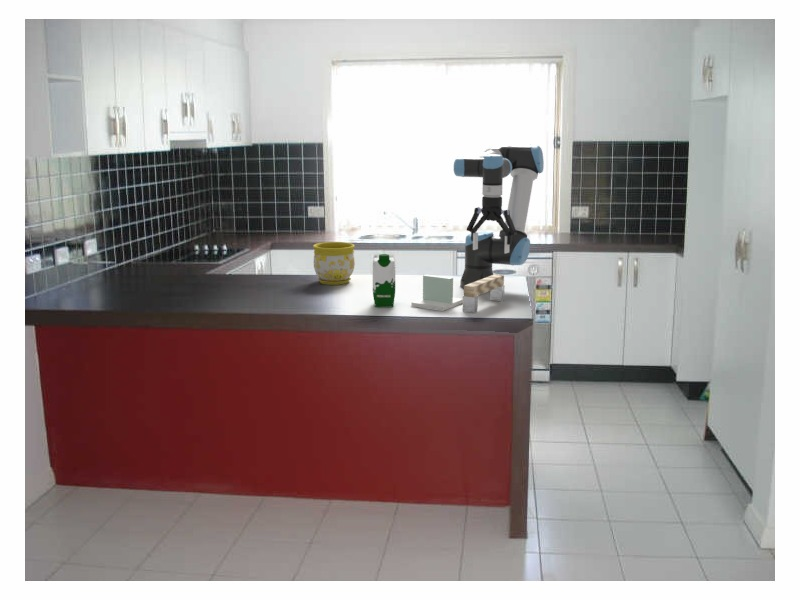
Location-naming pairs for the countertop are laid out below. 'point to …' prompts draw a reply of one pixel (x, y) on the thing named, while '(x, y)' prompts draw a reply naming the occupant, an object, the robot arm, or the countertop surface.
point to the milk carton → (384, 281)
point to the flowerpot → (334, 262)
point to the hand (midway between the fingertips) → (490, 251)
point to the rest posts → (472, 302)
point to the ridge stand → (437, 293)
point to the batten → (483, 285)
